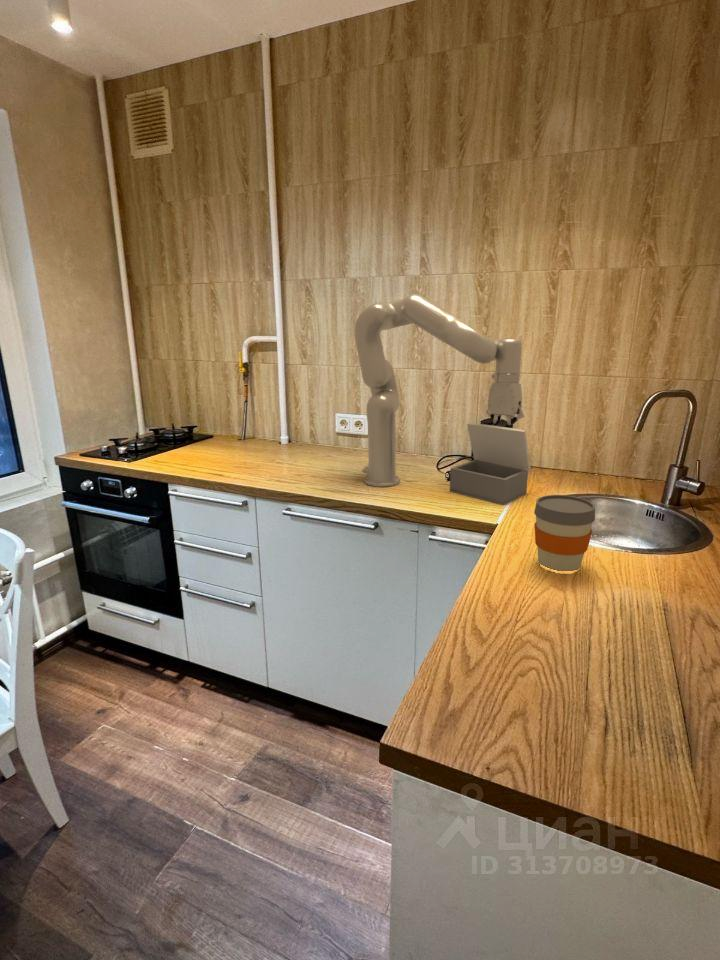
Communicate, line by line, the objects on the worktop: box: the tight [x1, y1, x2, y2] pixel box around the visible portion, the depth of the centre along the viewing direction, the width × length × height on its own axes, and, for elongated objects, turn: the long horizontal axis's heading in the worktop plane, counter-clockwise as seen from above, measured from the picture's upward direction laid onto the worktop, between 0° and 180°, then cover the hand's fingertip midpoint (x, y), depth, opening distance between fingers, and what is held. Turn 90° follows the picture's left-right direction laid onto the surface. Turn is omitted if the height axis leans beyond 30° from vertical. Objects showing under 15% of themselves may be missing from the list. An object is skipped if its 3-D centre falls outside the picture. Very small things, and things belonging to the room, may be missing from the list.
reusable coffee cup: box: [533, 494, 596, 571], centre depth 115 cm, size 13×13×15 cm
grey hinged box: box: [449, 459, 529, 506], centre depth 167 cm, size 20×14×8 cm
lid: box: [466, 421, 531, 471], centre depth 168 cm, size 20×14×6 cm
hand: (503, 435), depth 168 cm, fingers closed on lid, 3 cm apart
